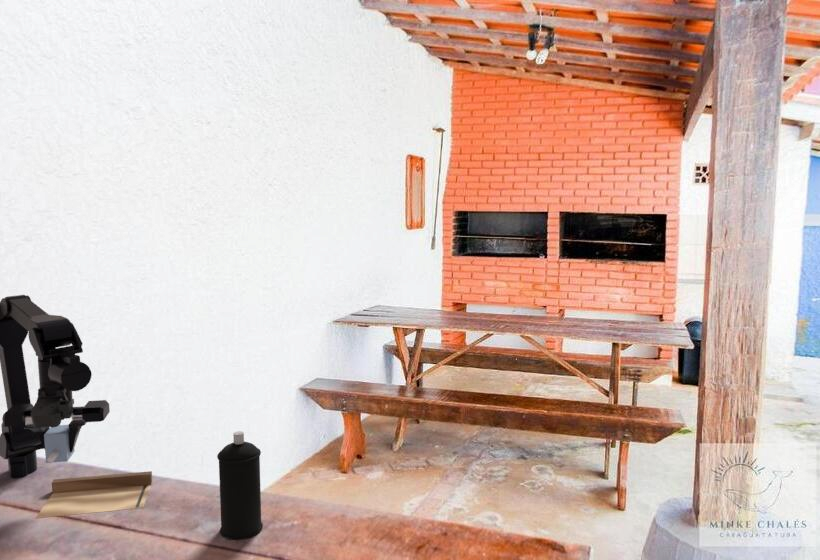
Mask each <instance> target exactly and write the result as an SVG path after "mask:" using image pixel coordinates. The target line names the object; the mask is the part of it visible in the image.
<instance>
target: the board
mask: <svg viewBox="0 0 820 560" xmlns="http://www.w3.org/2000/svg"><path fill="white" fill-rule="evenodd" d="M152 484H153V471H152V470H151V471H138V472H128V473H117V474H116V473H115V474H104V475H90V476H89V475H88V476H79V477H68V478H67V477H66V478H56V479H52V481H51V495H50V496H49V497H48V499H47V500H46V502H45V504H44V505H43V507H42V508H41V510H40V511H39V513H38V514H37V515H36V517H35V519H41V518H51V517H63V516H72V515H82V514H84V515H85V514H94V513H96V514H97V513H104V512H116V511H126V510H139V509H143V508H144V505H145V503H146V500H147V498H148V495H149V493H150V489H151V487H152Z"/></svg>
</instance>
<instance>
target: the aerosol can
mask: <svg viewBox="0 0 820 560" xmlns="http://www.w3.org/2000/svg"><path fill="white" fill-rule="evenodd" d="M261 453H262V451H261V450H260V448H259V447H257V446H256V445H255V444H253V443H252V442H248V441H245V433H244V431H242V430H241V431H240V430H239V431H234V432H233V442H232V443H228V444H227V445H225V446H224V447H223V448H222V449H221V450H220V451H219V452H218V453H217V455H216V457H217V460H218V468H219V469H218V475H219V504H220V528H219V532H220V535H221V536H222V537H223V538H224V539H225V538H226V539H228V540H231V541H232V540H233V541H241V540H242V541H243V540H247V539H250V538H253V537H254V536H257V535H258V534H259V533H260V532H261V531H262V529H263V528H264V527H263V526H264V525H263V522H262V502H261V501H262V499H261V498H262V497H261V492H262V491H261V458H260V457H261Z"/></svg>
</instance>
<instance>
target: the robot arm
mask: <svg viewBox="0 0 820 560" xmlns="http://www.w3.org/2000/svg"><path fill="white" fill-rule="evenodd" d="M78 333H79V332H78V331H77V329H76V327H75V326H74V324H73V322H71V320H70V319H68V318H67V317H64V316H62V315H58V314H57V315H54V314H49V313H48V312H46V311H45V310H43V309H42V308H41V307H40V306H38V305H37V304H36V303H35V302H33V301H32V299H31V297H30V296H29V295H25V294H19V295H11V296H10V295H9V296H6V297H3V298H1V300H0V371H1V376H2V381H3V382H2V384H3V388H4V394H5V395H4V396H5V401H6V408H7V410H6V411H5V412H4V413H3V415H2V418H1V420H2V423H1V433H0V457H1V458H2V459H3V460H7V466H8V467H7V468H8V475H9V476H10V479H21V478H23V479H24V478H25V477H27V476H28V475H31V474H33V473H35V472H36V471H37V470H38V459H37V458H38V457H37V451H38V450H43V449H44V450H45V441H44V434H45V433H46V432H47V431H48V430H49V429H50V428H51V427H57V426H59V425H61V423H62V421H64V420H65V419H70V418H71V421H70V422H69V424H67V425H68V426H69V429H70V439H69V448H70V452H73V450H75V447H76V443H77V441H78V438H79V435H80V432H81V429H82V427H83V426H85V425H86V424H87V423H96V422H97V423H98V422H104V421H105V419H106V418H107V416H108V415H109V414H110V412H111V411H110V403H109V402H108V401H107V399H103V400H99V399H98V400H88V401H87V403H86V404H84V406H74V404H75V399H74V398H73V392H79V391H81V390H83V389H85V388H86V387H87V386H88V385H89V383H90V382H91V379H92V375H93V374H92V371H91V369H90V367H89V365H87V364H86V363H85V362H83V361H81V357H80V355H78V354H81V353H82V354H83V352H84V351H83V347H82V346H83V342H82V340H81V337H80V335H79V334H78ZM27 336H28V340H29V343H30V345H31V348H32V349H33V351H34V352H35V356H36V357H37V367H38V380H39V388H38V389H37V398H36V402H35V404H33V403H32V402H31V396H30V390H29V382H28V377H27V370H26V364H25V355H24V350H23V344H24V342H25V340H26V338H27ZM39 468H40V469H41V468H43V467H42V466H41V467H39Z"/></svg>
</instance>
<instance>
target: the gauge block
mask: <svg viewBox="0 0 820 560" xmlns="http://www.w3.org/2000/svg"><path fill="white" fill-rule="evenodd" d="M68 425H69V424H60V425H59V426H57V427H50V429H49V430H48V431H47V432H46V433H45V434H44V441H45V449H44V451H45V452H44V453H45V463H46V464H48V463H49V464H52V463H62V462H63V463H64V462H69V460H70V459H71V457H72V456H73V455H74V453H75V449H74V450H73V452H70V448H69V439H70V429H69V426H68Z"/></svg>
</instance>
